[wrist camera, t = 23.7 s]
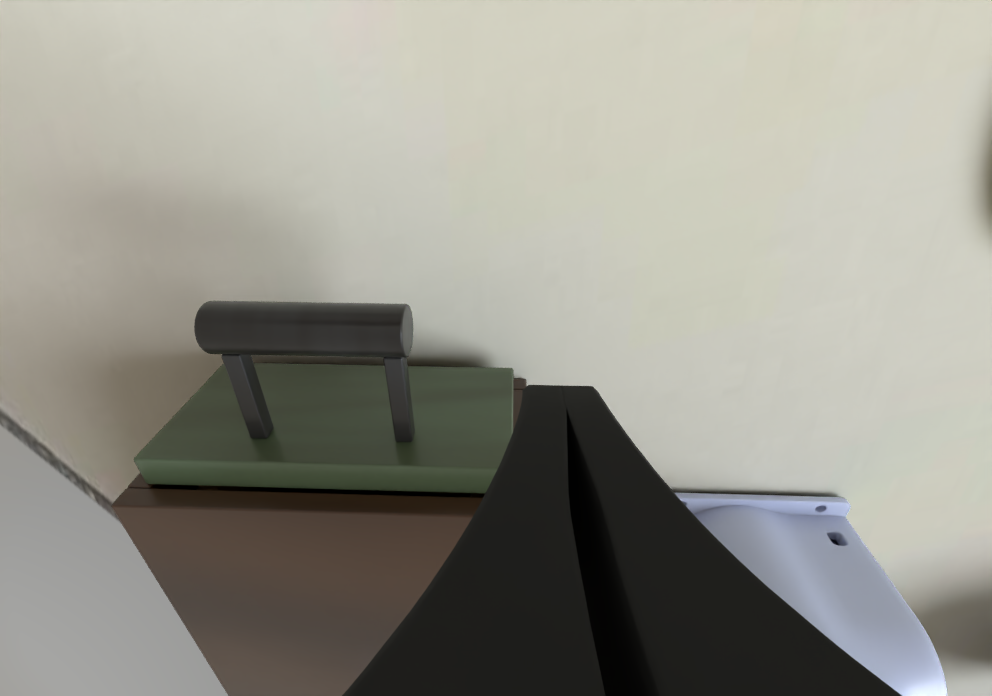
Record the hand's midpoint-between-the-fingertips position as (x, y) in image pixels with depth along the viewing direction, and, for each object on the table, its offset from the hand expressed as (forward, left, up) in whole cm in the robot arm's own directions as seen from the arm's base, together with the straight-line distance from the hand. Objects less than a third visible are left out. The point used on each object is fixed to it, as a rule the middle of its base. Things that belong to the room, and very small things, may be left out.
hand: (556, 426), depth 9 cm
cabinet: (+7, +13, -10) cm, 18 cm away
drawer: (+7, +9, -9) cm, 15 cm away
